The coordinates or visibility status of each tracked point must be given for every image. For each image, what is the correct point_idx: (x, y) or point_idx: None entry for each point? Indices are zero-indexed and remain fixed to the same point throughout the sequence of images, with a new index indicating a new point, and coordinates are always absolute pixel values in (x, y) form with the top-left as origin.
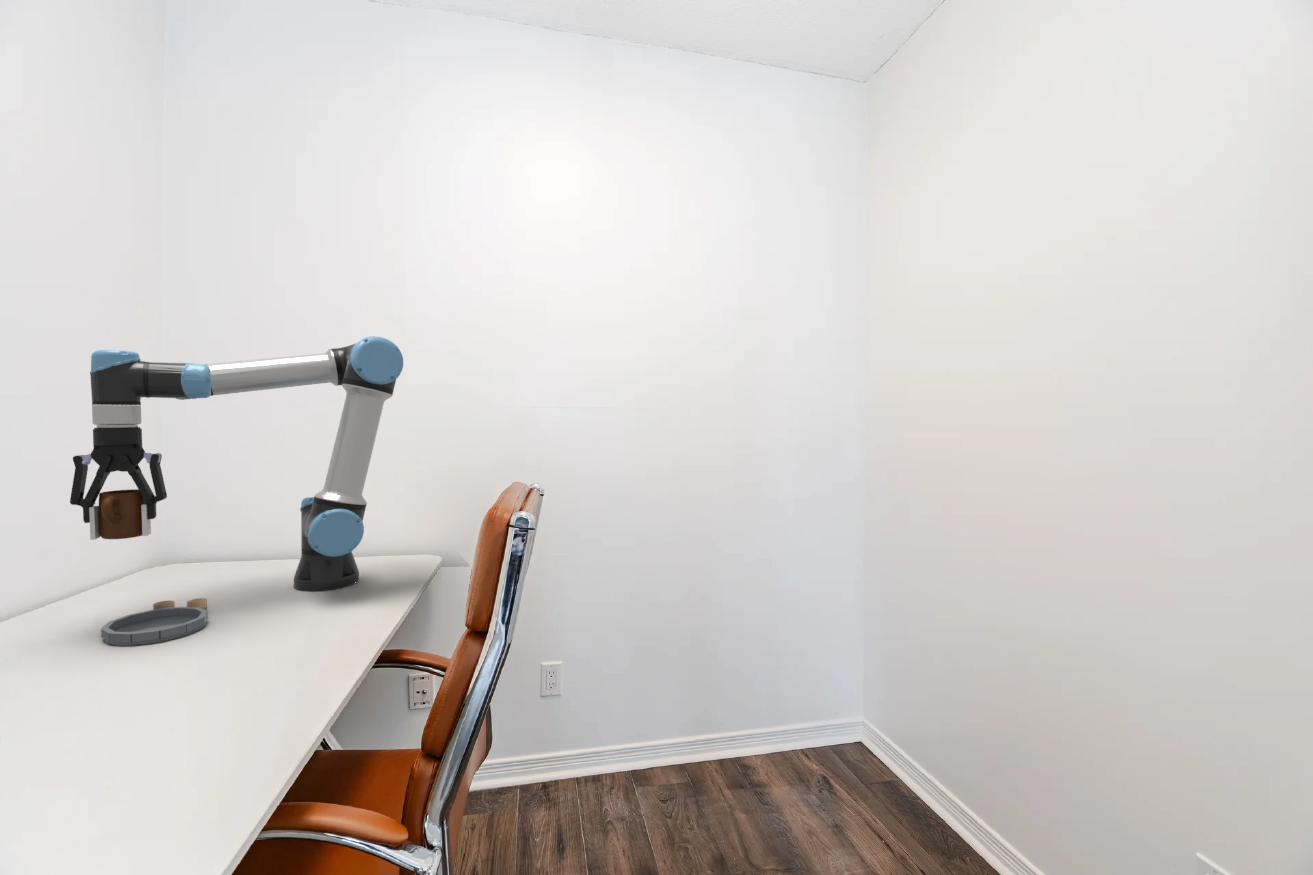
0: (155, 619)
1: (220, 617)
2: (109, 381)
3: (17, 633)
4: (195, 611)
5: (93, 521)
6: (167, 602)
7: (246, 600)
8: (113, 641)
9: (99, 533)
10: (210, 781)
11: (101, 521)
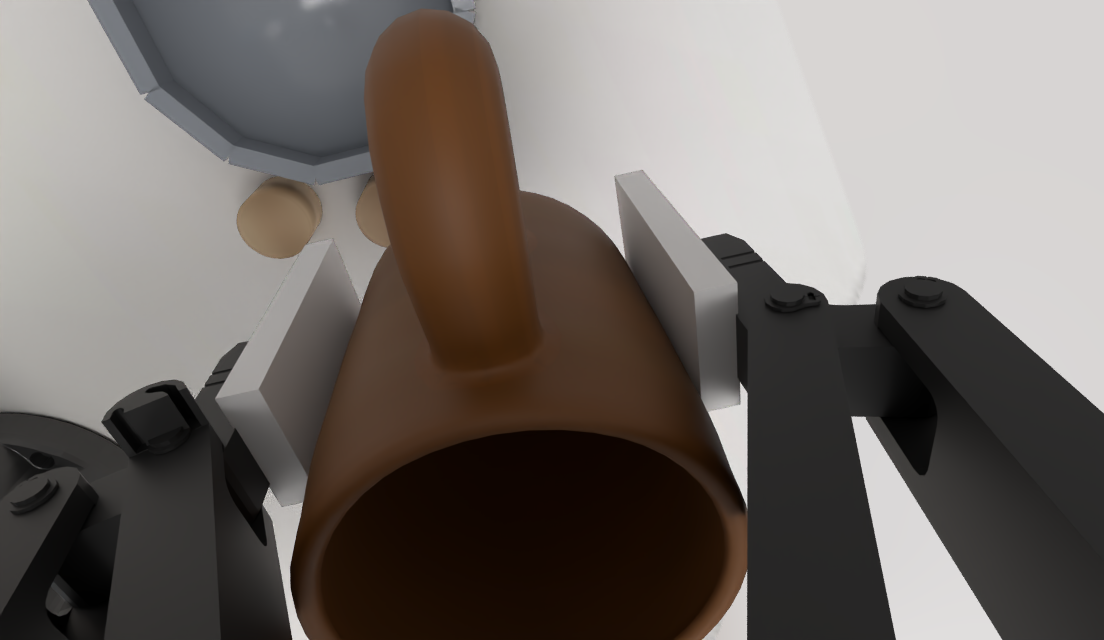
0: None
1: (157, 144)
2: None
3: (791, 89)
4: (223, 131)
5: (657, 225)
6: (381, 222)
7: (210, 340)
8: None
9: (631, 266)
10: None
11: (614, 266)
